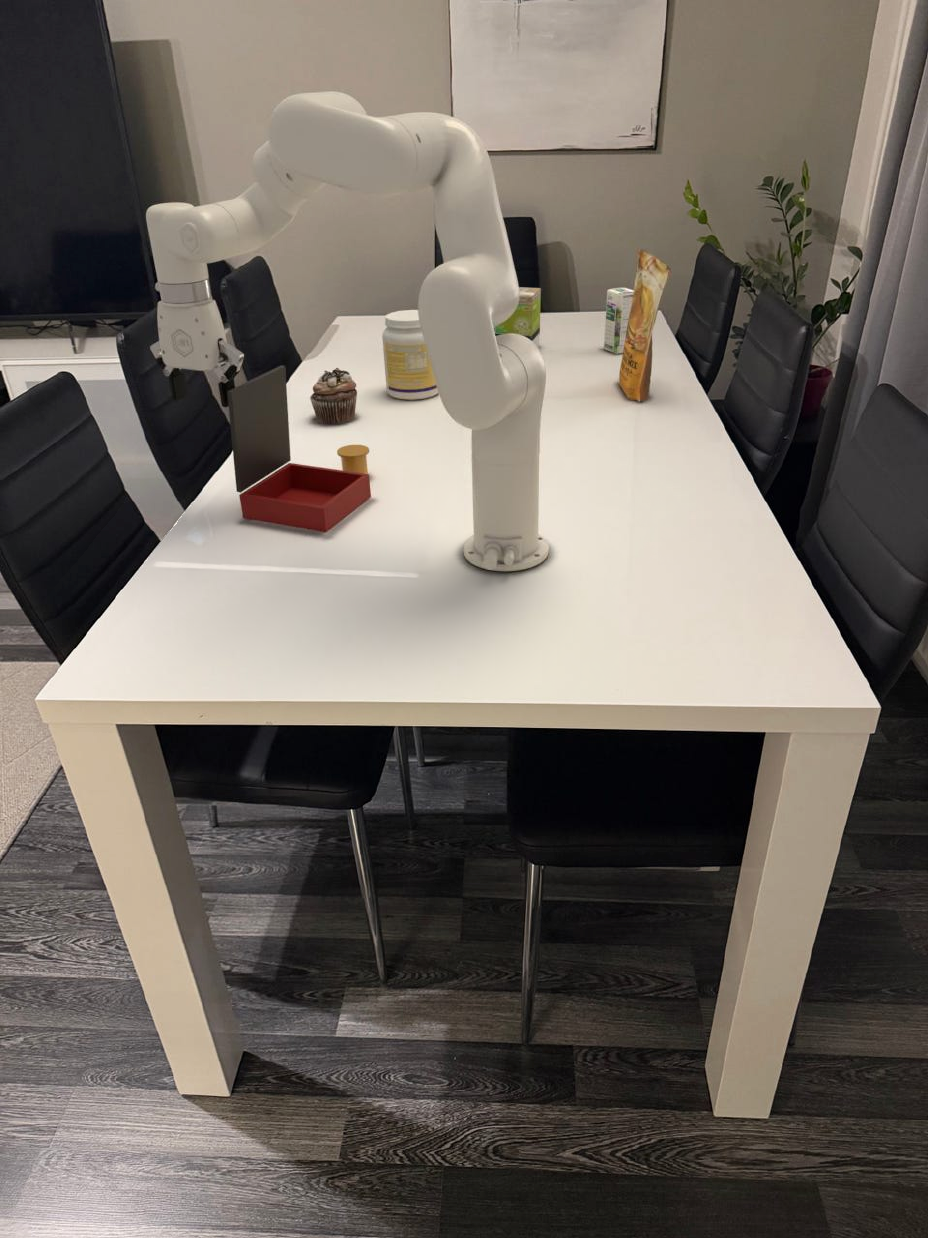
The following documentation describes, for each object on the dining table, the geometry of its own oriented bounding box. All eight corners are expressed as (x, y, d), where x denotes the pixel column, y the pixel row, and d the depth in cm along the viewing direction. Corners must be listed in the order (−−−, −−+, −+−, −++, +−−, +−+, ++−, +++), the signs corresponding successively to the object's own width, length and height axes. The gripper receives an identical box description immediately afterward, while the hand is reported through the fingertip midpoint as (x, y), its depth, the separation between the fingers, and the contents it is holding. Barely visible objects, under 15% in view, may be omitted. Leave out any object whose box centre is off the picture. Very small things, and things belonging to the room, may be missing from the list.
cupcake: (336, 407, 197) (331, 361, 192) (368, 416, 192) (364, 368, 187) (303, 420, 191) (297, 372, 186) (335, 429, 186) (330, 380, 181)
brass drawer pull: (367, 485, 160) (364, 456, 157) (336, 484, 161) (333, 455, 158) (374, 473, 165) (372, 444, 162) (344, 472, 166) (341, 444, 163)
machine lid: (285, 365, 148) (281, 365, 148) (231, 392, 137) (227, 391, 137) (290, 460, 157) (286, 459, 157) (240, 492, 146) (236, 491, 146)
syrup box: (602, 349, 231) (605, 289, 223) (622, 345, 233) (626, 286, 226) (615, 354, 226) (618, 293, 219) (635, 351, 229) (639, 290, 221)
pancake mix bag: (643, 377, 210) (653, 246, 195) (661, 403, 193) (673, 263, 179) (614, 378, 209) (621, 247, 195) (629, 405, 193) (638, 264, 179)
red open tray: (371, 500, 154) (369, 474, 152) (326, 536, 143) (323, 508, 141) (292, 488, 160) (289, 462, 158) (243, 522, 149) (238, 494, 146)
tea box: (473, 353, 231) (471, 292, 223) (484, 343, 239) (483, 284, 231) (531, 357, 227) (532, 294, 219) (540, 346, 235) (541, 286, 227)
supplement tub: (449, 396, 202) (446, 317, 193) (396, 404, 198) (390, 324, 189) (430, 381, 212) (426, 306, 203) (379, 389, 208) (373, 312, 199)
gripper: (124, 293, 140) (147, 403, 149) (217, 300, 134) (235, 414, 143) (156, 283, 146) (176, 389, 155) (247, 290, 140) (262, 400, 149)
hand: (204, 401), depth 149 cm, fingers open, 9 cm apart
